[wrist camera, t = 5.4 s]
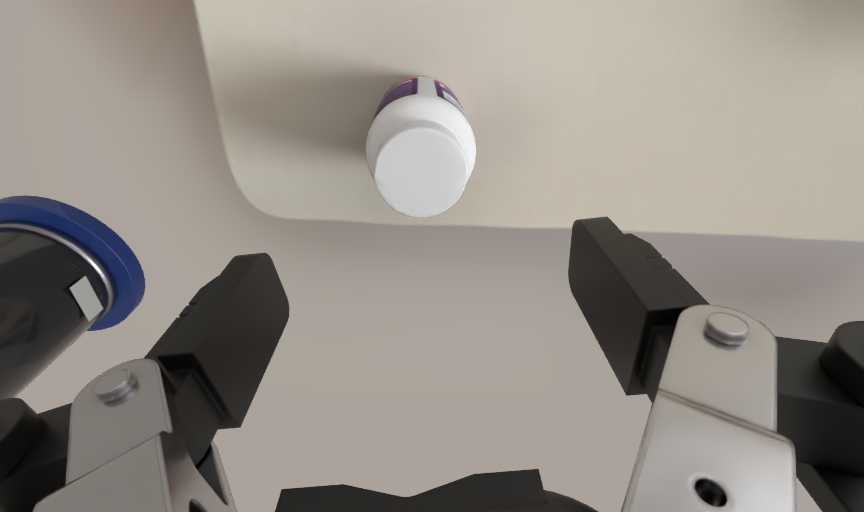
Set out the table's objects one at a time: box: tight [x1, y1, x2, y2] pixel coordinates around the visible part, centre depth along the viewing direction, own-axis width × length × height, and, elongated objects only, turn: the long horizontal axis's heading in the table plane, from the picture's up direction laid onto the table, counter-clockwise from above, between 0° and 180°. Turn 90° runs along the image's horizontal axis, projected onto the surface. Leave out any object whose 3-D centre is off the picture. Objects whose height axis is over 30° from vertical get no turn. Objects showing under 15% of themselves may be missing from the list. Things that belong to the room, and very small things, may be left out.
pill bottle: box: [366, 76, 476, 217], centre depth 20 cm, size 5×5×10 cm
